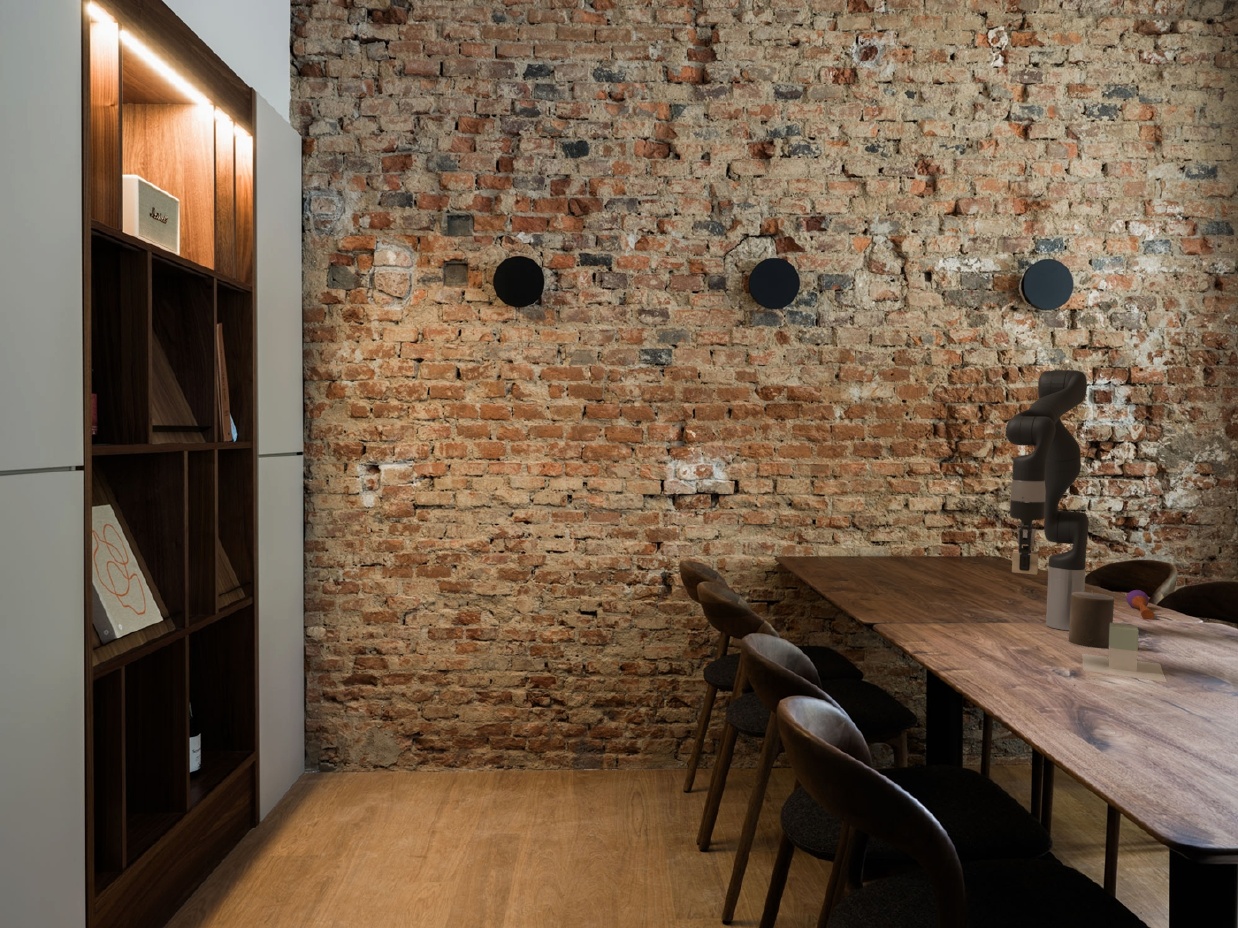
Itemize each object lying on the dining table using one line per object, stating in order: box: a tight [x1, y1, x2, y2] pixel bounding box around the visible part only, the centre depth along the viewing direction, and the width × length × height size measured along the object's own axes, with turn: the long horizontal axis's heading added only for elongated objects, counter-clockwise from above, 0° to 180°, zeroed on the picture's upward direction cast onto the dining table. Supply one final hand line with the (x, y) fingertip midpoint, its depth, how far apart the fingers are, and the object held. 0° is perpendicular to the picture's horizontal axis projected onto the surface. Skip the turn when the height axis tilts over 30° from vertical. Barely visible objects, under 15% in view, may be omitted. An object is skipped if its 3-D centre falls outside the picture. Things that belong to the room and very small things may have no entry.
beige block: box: [1107, 646, 1139, 672], centre depth 189 cm, size 5×5×5 cm
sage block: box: [1109, 622, 1140, 651], centre depth 189 cm, size 5×5×5 cm
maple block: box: [1011, 549, 1039, 576], centre depth 197 cm, size 5×5×5 cm
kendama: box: [1126, 589, 1155, 621], centre depth 252 cm, size 6×6×20 cm
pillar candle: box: [1068, 590, 1115, 649], centre depth 210 cm, size 10×10×15 cm
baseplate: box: [1081, 653, 1168, 683], centre depth 190 cm, size 16×16×1 cm
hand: (1024, 568), depth 197 cm, fingers closed on maple block, 5 cm apart
